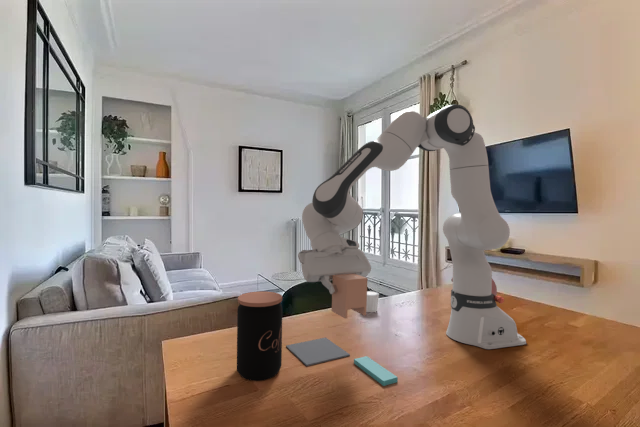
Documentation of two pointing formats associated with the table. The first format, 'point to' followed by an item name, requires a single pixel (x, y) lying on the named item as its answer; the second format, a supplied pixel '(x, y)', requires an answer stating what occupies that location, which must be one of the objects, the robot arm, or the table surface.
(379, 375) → the stick
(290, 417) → the table surface
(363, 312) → the cover
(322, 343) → the pad
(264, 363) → the coffee jar
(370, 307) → the white cylinder
